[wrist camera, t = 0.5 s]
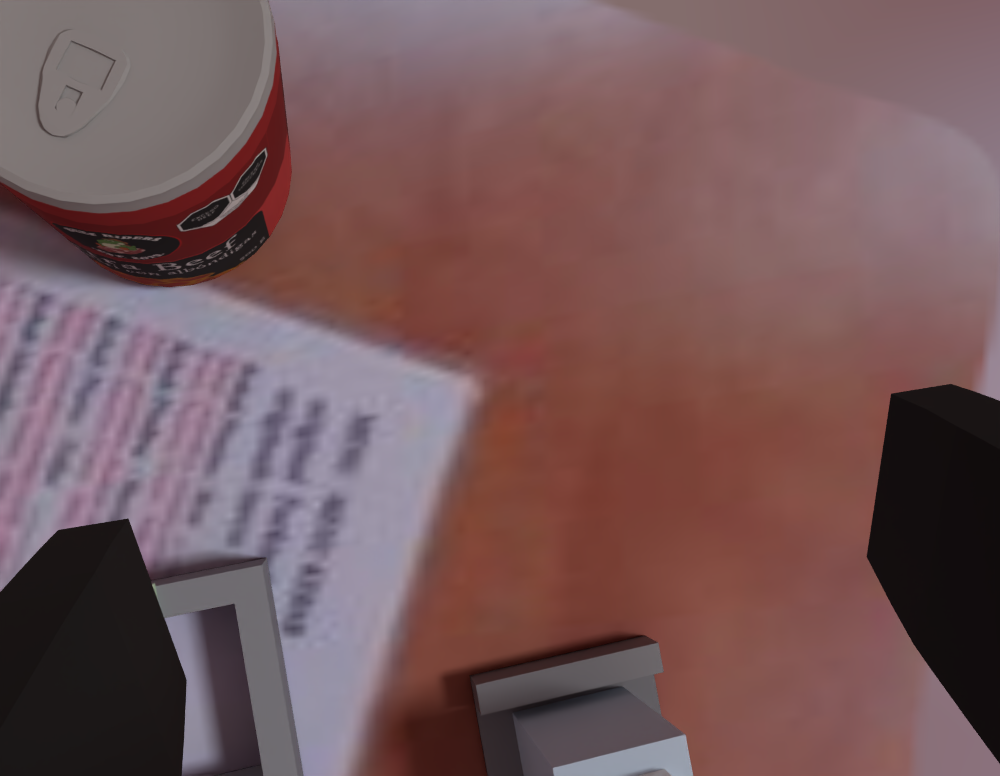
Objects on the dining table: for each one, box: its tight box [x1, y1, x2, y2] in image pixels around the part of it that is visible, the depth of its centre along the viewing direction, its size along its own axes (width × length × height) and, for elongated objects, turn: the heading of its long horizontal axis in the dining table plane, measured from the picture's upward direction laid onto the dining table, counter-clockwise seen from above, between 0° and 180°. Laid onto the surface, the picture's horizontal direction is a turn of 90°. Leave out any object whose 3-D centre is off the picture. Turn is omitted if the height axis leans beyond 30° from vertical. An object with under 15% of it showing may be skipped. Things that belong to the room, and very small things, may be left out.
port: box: [151, 558, 303, 776], centre depth 30 cm, size 8×8×2 cm
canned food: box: [0, 0, 292, 287], centre depth 27 cm, size 8×8×11 cm
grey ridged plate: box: [470, 635, 664, 776], centre depth 32 cm, size 7×6×1 cm
